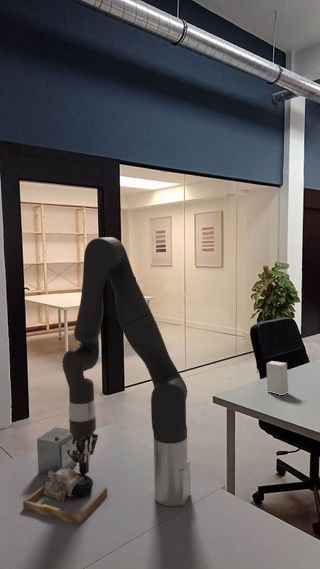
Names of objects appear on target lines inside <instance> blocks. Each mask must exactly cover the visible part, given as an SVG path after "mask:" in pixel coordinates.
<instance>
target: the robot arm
mask: <svg viewBox="0 0 320 569" xmlns="http://www.w3.org/2000/svg"><path fill="white" fill-rule="evenodd" d="M83 256H84V257H83V269H82V270H83V272H82V283H81V284H82V285H81V286H82V287H81V296H80V303H79V307H78V312H77V317H76V322H75V327H74V332H73V336H74V339H75V340H76V341H78V342H79V343H80V345H79V347H76V348H72V349H69V350H68V351H66V352H65V353H64V355H63V357H62V358H63V359H62V362H61V363H62V369H63V373H64V376H65V379H66V382H67V386H68V394H69V396H68V397H69V405H68V416H69V418H68V419H69V421H68V422H69V430H70V433H71V434H72V435H73V441H72V444H73V446H72V448H71V450H68V451H67V454H68V455H69V456H70V457H71V459H72V460H73V461H74V462H77V464H78V467H79V469H78V471H79V473H80V474H84V475H87V474H88V473H89V471H90V470H89V468H90V465H89V464H90V459H91V456H93V455H94V451H95V448H96V444H97V442H98V440H99V435H98V434H96V433H94V432H95V431H96V429H97V421H96V420H97V418H96V403H95V388H94V387H95V386H94V382H93V380H92V379H90V378H89V377H88V378H87V377H85V374H84V372H87V371H88V370H90V369H93V368H94V367H95V366H96V364H97V363H98V362H99V356H100V340H99V337H100V332H101V328H102V324H103V319H104V310H105V309H104V291H105V290H104V289H105V284H106V281H107V278H108V280H109V282H110V284H111V287H112V290H113V293H114V299H115V300H114V301H115V309H116V315H117V321H118V323H119V325H120V327H121V329H122V332H123V334H124V336H125V339H126V340H127V343H128V344H129V345H130V347H131V348H132V350H133V351H134V352H135V353H136V354H137V355H138V357H139V358H140V359H141V360H142V362H143V364H144V365H145V367H146V369H147V371H148V374H149V376H150V379H151V381H152V384H153V390H152V392H151V397H150V412H151V413H150V414H151V427H152V428H151V429H152V431H153V466H154V467H153V473H154V474H153V475H154V482H153V483H154V498H155V500H156V502H157V503H158V504H160V505H162V506H165V507H178V506H180V507H184V506H185V504H186V502H187V501H188V499H189V497H190V495H191V461H190V460H188V427H187V426H188V425H187V397H188V388H187V385H186V383H185V381H184V379H183V378H182V375H181V374H180V372H179V371H178V369H177V367H176V366H175V364H174V362H173V360H172V358H171V356H170V354H169V352H168V349H167V346H166V344H165V341H164V339H163V336H162V334H161V333H162V332H160V328H159V325H158V323H157V322H156V319H155V317H154V315H153V312H152V310H151V309H150V306H149V305H148V302H147V300H146V299H145V295H144V293H143V291H142V290H141V288H140V286H139V283H138V281H137V279H136V277H135V274H134V272H133V268H132V266H131V263H130V262H131V261H130V260H129V257H128V254H127V250H126V248H125V246H124V245H123V243H122V242H121V241H120V240H118V239H117V238H116V237H112V236H111V237H110V236H107V237H106V236H105V237H97V238H93V239H91V240H90V241H89V242H87V244H86V246H85V250H84V255H83Z"/></svg>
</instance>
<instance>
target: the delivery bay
mask: <svg viewBox="0 0 320 569" xmlns="http://www.w3.org/2000/svg"><path fill="white" fill-rule="evenodd" d="M45 485H46V483H44V484H43V485H42V486H41V487H39V488H38V489H37V490H36V491H35V492H33V493H32V494H31V495H30V496H29V495H28V497H27V498H26V499H24V500H23V501H22V508H23V510H26V511H29V512H33V513H36V514H40V515H43V516H46V517H51V518H53V519H57V520H60V521H64V522H66V523H67V522H68V523H70V524H74V525H77V526H80V525H81V523H82V522H83V521H84V520H85V519H86V518H87V517H88V516H89V515H90V514H91V512H93V510H95V509H96V507H97V506H99V504H100V503H101V502H103V501H102V500H104V499H105V498H106V496H107V495H108V487H107V486H104V487H103V488H102V489H101V490H100V491H99V492H98V493H97V494H96V495H95V496H94V497H93V498H92V499H91V501H89V502H88V503H87V505H86V506H85V507H83V509H82V510H81V511H80V512H79V513H78V514H77V513H74V512H69V511H66V510H62V509H60V507H55V506H52V505H50V504H42V503H37V501H38V500H39V499H41V497H43V496H44V495H45V494H44V489H45Z"/></svg>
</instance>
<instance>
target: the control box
mask: <svg viewBox="0 0 320 569" xmlns="http://www.w3.org/2000/svg"><path fill="white" fill-rule="evenodd" d="M72 441H73V435H72V434H71V433H70V429H67V428H63V427H58V426H55V427H53V428H52V429H50V430H49V431H47V432H45V433H44V434H41V436H39V437H38V438H36V446H37V472H38V474H40V475H45V476H48V473H49V471H52V472H54V473H56V472H57V471H59V470H61V469H64V468H71V469H73V468H74V467H75V466H76V465H77V464H78V463H77V462H74V461H73V460H72V459H71V457H70V456H69V455H68V454H67V451H68V450H71V448H72V446H73V444H72Z"/></svg>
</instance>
